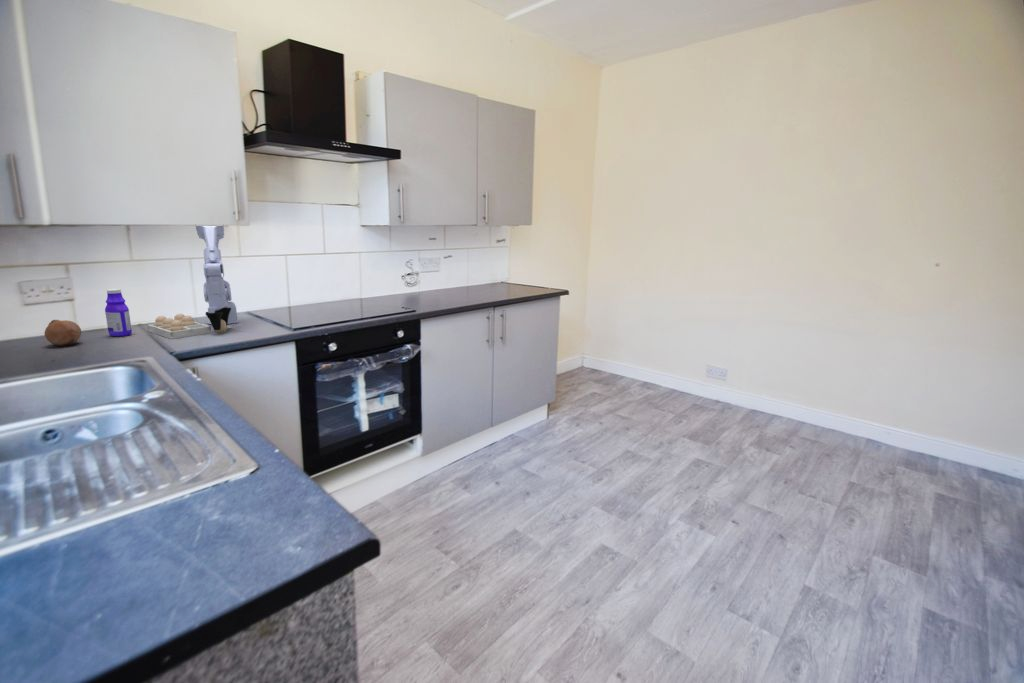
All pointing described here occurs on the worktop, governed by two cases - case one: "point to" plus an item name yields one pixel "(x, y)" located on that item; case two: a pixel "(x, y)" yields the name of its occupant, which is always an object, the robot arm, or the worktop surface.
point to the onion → (62, 332)
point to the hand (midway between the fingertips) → (220, 327)
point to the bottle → (117, 314)
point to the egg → (222, 327)
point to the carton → (178, 327)
